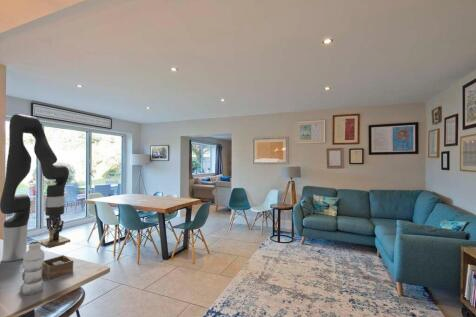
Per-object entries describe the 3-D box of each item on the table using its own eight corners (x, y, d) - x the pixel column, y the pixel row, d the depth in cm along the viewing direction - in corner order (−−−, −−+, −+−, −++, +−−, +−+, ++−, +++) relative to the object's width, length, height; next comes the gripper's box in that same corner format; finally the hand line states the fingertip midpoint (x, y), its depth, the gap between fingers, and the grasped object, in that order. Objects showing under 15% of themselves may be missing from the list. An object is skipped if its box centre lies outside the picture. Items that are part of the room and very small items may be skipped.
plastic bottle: (30, 298, 90) (33, 246, 90) (16, 296, 92) (19, 244, 92) (47, 289, 97) (49, 241, 97) (34, 287, 98) (36, 239, 98)
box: (40, 274, 108) (40, 261, 108) (62, 267, 116) (63, 255, 116) (49, 281, 103) (50, 267, 103) (72, 273, 111) (73, 260, 111)
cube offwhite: (51, 270, 111) (51, 262, 111) (60, 267, 114) (60, 260, 114) (54, 272, 109) (55, 264, 109) (63, 269, 112) (63, 262, 112)
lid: (37, 245, 117) (37, 230, 117) (60, 239, 125) (60, 226, 125) (46, 249, 111) (47, 234, 111) (70, 243, 120) (70, 229, 120)
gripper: (40, 204, 119) (39, 238, 119) (52, 208, 112) (51, 244, 111) (57, 202, 125) (56, 234, 125) (70, 205, 118) (69, 240, 118)
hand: (54, 239), depth 118 cm, fingers closed on lid, 3 cm apart
